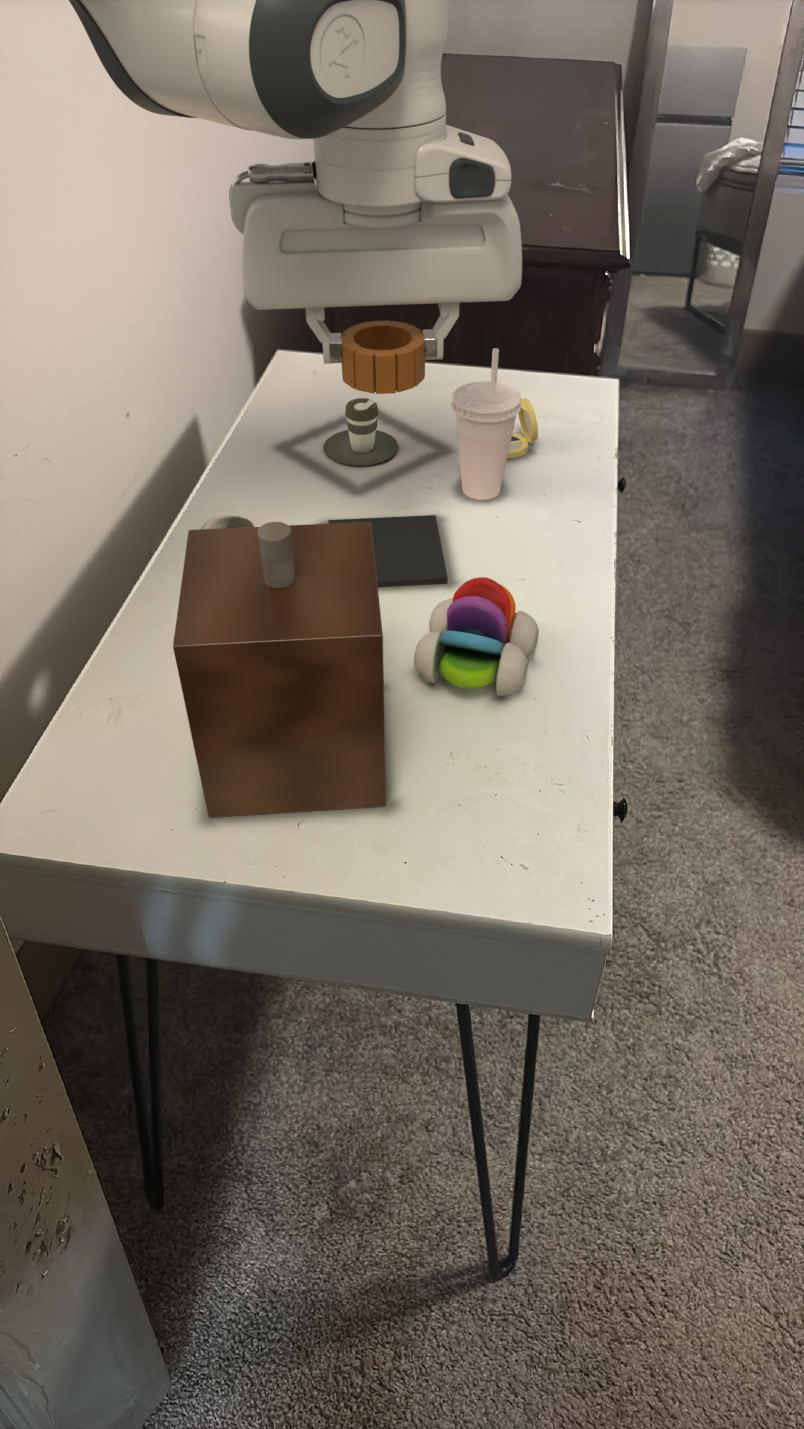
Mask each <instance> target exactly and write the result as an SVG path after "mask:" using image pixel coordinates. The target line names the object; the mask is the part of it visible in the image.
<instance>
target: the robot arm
mask: <svg viewBox="0 0 804 1429" xmlns="http://www.w3.org/2000/svg"><path fill="white" fill-rule="evenodd" d="M68 2H69V3H70V5H71V6H72V8H73V10H74V12H75V13H76V15H77V17H78V19H79V21H80V22H81V24H82V26H83V28H84V30H85V32H86V35H87V37H88V39H89V41H90V43H91V45H92V47H93V49H94V51H95V53H96V56H97V57H98V58H99V61H100V62H101V65H102V66H103V68H104V70H105V71H106V73H107V74H108V76H109V78H110V79H111V81H112V82H113V83H114V84H115V86H116V87H117V88H118V90H120V92H121V93H122V94H123V95H124V96H125V97H126V98H127V99H129V101H131V102H132V103H134V104H135V105H136V106H138V107H140V108H141V109H144V110H145V111H147V112H150V113H153V114H157V115H160V116H171V117H179V118H187V119H201V120H205V121H209V122H212V123H217V124H221V125H224V126H228V127H232V128H236V129H241V130H246V131H252V132H257V133H261V134H265V135H269V136H274V137H278V138H283V139H290V140H312V139H313V153H314V160H313V161H304V162H289V163H283V164H275V165H274V164H268V163H255V164H250V165H249V166H247V167H248V170H246V171H242V172H241V173H239V174H238V175H237V176H236V177H234V179H233V180H232V182H231V184H230V186H229V190H228V199H229V200H228V201H229V210H230V216H231V220H232V223H233V225H234V227H235V228H236V229H237V231H238V232H239V233H240V234H241V235H242V254H241V255H242V257H241V258H242V259H241V260H242V261H241V264H242V265H241V267H242V268H241V270H242V271H241V272H242V288H243V290H242V291H243V296H244V298H245V300H247V301H248V303H249V304H250V305H251V306H252V307H253V308H254V309H256V310H261V311H263V310H264V311H266V310H290V309H292V310H293V309H305V322H306V324H307V325H308V326H309V328H310V329H311V331H312V332H313V334H314V335H315V337H316V339H317V340H318V341H319V342H320V344H322V355H323V356H322V357H323V365H329V364H342V362H343V359H342V355H341V352H342V340H341V334H342V332H331V331H330V330H329V328H328V327H327V324H326V323H325V320H326V316H325V308H344V307H345V308H347V307H372V306H373V307H375V306H400V305H402V306H403V305H404V306H405V305H427V304H429V305H431V304H437V307H438V310H439V313H440V314H439V317H438V318H437V320H436V322H435V324H434V326H433V327H432V328H430V329H422V332H423V335H424V340H425V353H424V359H425V361H429V360H443V359H444V346H445V345H444V344H445V343H444V342H445V341H444V340H445V339H446V338H447V336H448V335H449V333H450V332H451V330H452V328H453V327H454V326H455V323H456V322H457V320H458V319H459V316H460V303H481V302H482V303H483V302H487V303H488V302H507V301H511V299H512V298H513V297H514V296H515V295H516V294H517V292H518V291H519V290H520V288H521V287H522V279H523V242H522V232H521V223H520V217H519V215H518V213H517V211H516V208H515V205H514V204H513V201H512V199H511V198H510V195H509V193H510V190H511V186H512V168H511V164H510V161H509V159H508V156H507V154H506V153H505V151H504V150H503V148H501V147H500V145H499V144H498V143H497V142H496V141H494V140H493V139H490V138H488V137H485V136H482V135H479V134H476V133H472V132H470V131H467V130H463V129H461V128H457V127H455V126H452V125H449V124H447V101H446V96H445V92H444V89H443V88H444V87H443V84H442V61H443V60H442V59H443V54H444V49H445V46H446V41H447V37H448V31H449V0H68ZM245 179H249V181H244V180H245Z"/></svg>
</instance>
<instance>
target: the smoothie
mask: <svg viewBox="0 0 804 1429" xmlns="http://www.w3.org/2000/svg"><path fill="white" fill-rule="evenodd" d="M499 354H500V349H499V348H497V347H495V348H492V352H491V369H490V370H491V372H490V381H487V380H485V381H484V380H483V381H481V380H480V381H473V382H468V383H465V384H463V385H460V386H459V387H457V388H456V389H455V390H454V391H453V392H452V396H451V404H450V406H451V410H452V411H453V412H454V413H455V414H454V415H455V427H456V436H457V446H458V457H459V468H460V479H461V489H462V490H461V491H462V493H463V494H464V495H465V496H466V497H468V498H471V499H472V500H478V501H486V500H487V501H488V500H491V499H494V498H497V497H498V496H499V495H500V493H501V490H502V484H503V480H504V476H505V471H506V465H507V461H508V458H507V457H508V452H509V447H510V443H511V438H512V433H514V429H515V424H516V419H517V415H518V413H519V412H520V410H521V399H522V396H521V393H520V392H519V391H518V389H516V388H514V387H512V386H510V385H508V384H506V383H502V382H498V368H499Z"/></svg>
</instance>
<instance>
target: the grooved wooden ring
mask: <svg viewBox="0 0 804 1429" xmlns="http://www.w3.org/2000/svg"><path fill="white" fill-rule="evenodd" d="M341 340H342V352H341V355H342V359H343V362H342V363H341V377H342V378H341V379H342V381H343V383H344V384H346V385H347V386H348V387H350V388H352V389H353V390H356V391H360V392H363V393H364V392H365V393H367V394H376V395H385V394H396V393H402V392H405V391H409V390H411V389H414V388H415V387H417V386H418V385H420V384H421V383H422V382H423V381H424V380H425V378H426V360H425V359H424V353H425V340H424V335H423V329H422V330H421V329H420V328H418V327H417V326H415V325H413V324H409V323H407V322H401V321H395V320H391V321H390V320H372V321H370V322H369V321H364V322H362V323H358V324H355V325H354V324H353V325H352V326H351V327H350V326H349V327H348V328H346V330H344V331H343V332H341Z"/></svg>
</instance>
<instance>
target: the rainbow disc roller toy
mask: <svg viewBox="0 0 804 1429" xmlns="http://www.w3.org/2000/svg"><path fill="white" fill-rule="evenodd" d="M516 609H517V606H516V601H515V598H514V597H513V594H512V593H511V592H510V590H508V588H506V587H505V586H503V585H502V584H500V583H498V582H497V581H496V580H494V579H492V578H490V577H485V576H483V577H482V576H481V577H480V576H479V577H474V578H471V579H469V580H467V581H465V582H464V583H462V584H461V585H460V586H459V587H458V588H457V589H456V590H455V592H454V593H453V596H452V598H447V599H445V600H442V601H440V602H439V603H438V604H437V605H435V607H434V608H433V609H432V612H431V614H430V618H429V623H428V624H429V625H428V626H429V627H428V628H429V632H428V633H426V634H425V635H423V636H422V637H421V638H420V639H419V640H418V641H417V644H416V646H415V649H414V655H413V665H414V668H415V670H416V672H417V673H418V675H419V676H420V677H421V678H422V679H424V680H425V681H427V682H429V683H431V684H435V683H437V682H438V680H439V679H440V676H442V677H443V679H445V680H446V681H447V682H448V683H450V684H451V685H453V686H455V687H457V688H461V689H468V690H469V689H470V690H471V689H472V690H474V689H480V688H483V687H486V686H489V685H490V684H492V683H494V682H495V680H496V682H495V692H496V695H497V696H508V695H512V694H514V693H516V692H517V691H518V690H520V689H521V688H522V686H523V685H524V683H525V682H526V681H525V680H526V677H527V674H528V673H527V672H528V666H529V665H528V664H529V663H528V658H530V657H531V656H532V655H533V654H534V653H535V651H536V649H537V646H538V645H537V644H538V640H539V632H540V629H539V626H538V623H537V622H536V620H535V619H534V618H533V617H532V615H530V614H528V613H527V612H525V611H523V610H519V611H517V612H516Z"/></svg>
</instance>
